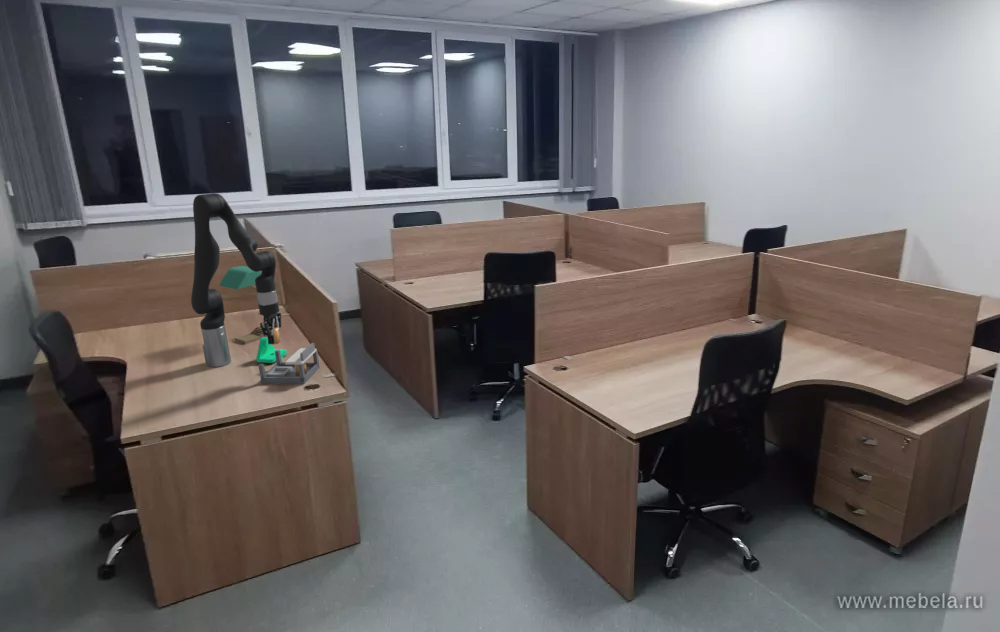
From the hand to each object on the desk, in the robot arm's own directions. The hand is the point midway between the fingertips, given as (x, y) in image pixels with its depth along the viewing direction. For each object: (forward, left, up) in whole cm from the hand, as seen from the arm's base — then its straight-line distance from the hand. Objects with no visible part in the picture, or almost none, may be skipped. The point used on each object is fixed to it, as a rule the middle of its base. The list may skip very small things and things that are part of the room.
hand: (274, 341), depth 238 cm
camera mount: (-11, +17, -15) cm, 26 cm away
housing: (+5, 0, -15) cm, 16 cm away
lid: (+10, 0, -7) cm, 13 cm away
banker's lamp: (-33, +45, -15) cm, 58 cm away
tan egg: (0, 0, -1) cm, 1 cm away
